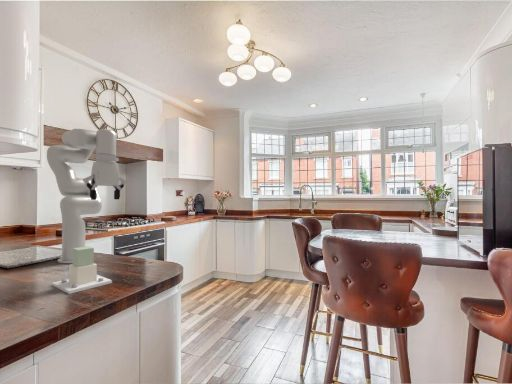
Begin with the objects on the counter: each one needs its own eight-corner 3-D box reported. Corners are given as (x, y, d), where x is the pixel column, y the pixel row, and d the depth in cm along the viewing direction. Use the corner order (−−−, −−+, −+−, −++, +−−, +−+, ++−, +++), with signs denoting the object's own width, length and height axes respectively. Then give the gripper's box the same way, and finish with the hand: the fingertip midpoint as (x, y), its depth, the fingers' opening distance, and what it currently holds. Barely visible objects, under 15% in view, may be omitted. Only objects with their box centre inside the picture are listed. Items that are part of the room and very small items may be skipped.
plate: (52, 285, 98) (52, 280, 98) (93, 275, 109) (93, 271, 109) (69, 294, 90) (69, 288, 90) (112, 282, 101) (112, 278, 101)
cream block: (68, 281, 99) (69, 265, 99) (88, 277, 104) (88, 261, 104) (76, 285, 95) (77, 268, 95) (96, 280, 100) (96, 264, 100)
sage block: (72, 264, 99) (72, 248, 99) (87, 262, 103) (87, 246, 103) (78, 267, 96) (78, 250, 96) (93, 264, 100) (93, 248, 100)
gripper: (121, 161, 126) (120, 199, 126) (79, 157, 112) (79, 199, 112) (130, 160, 121) (129, 199, 121) (88, 156, 107) (87, 200, 107)
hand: (105, 199), depth 116 cm, fingers open, 9 cm apart
